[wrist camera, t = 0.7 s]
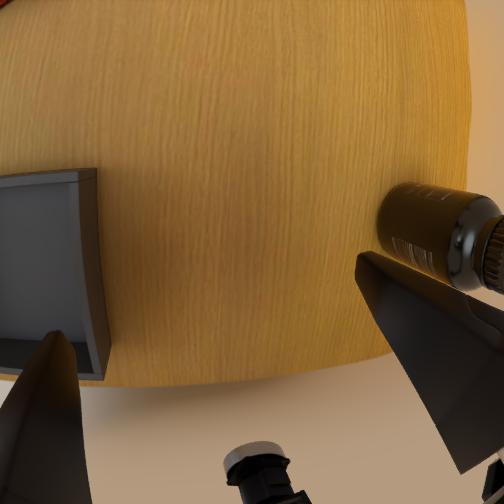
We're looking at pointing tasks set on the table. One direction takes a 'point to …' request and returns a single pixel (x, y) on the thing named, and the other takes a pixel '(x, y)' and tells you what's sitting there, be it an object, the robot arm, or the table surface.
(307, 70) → the table surface
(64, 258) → the bin
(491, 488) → the robot arm
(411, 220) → the supplement bottle
